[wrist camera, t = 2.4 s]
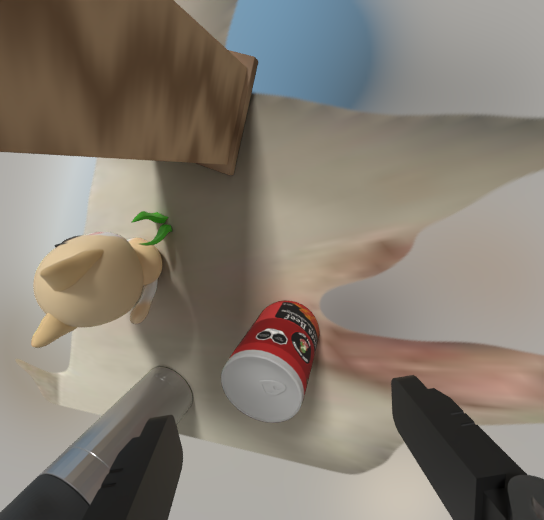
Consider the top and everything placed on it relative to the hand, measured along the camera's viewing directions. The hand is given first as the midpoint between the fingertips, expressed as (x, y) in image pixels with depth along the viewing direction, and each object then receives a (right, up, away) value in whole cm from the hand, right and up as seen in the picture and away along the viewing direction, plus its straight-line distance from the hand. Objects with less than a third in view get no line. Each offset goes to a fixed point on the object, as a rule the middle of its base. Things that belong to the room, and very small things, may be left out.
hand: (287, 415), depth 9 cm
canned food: (+2, -3, +24) cm, 24 cm away
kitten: (-18, +6, +28) cm, 34 cm away
